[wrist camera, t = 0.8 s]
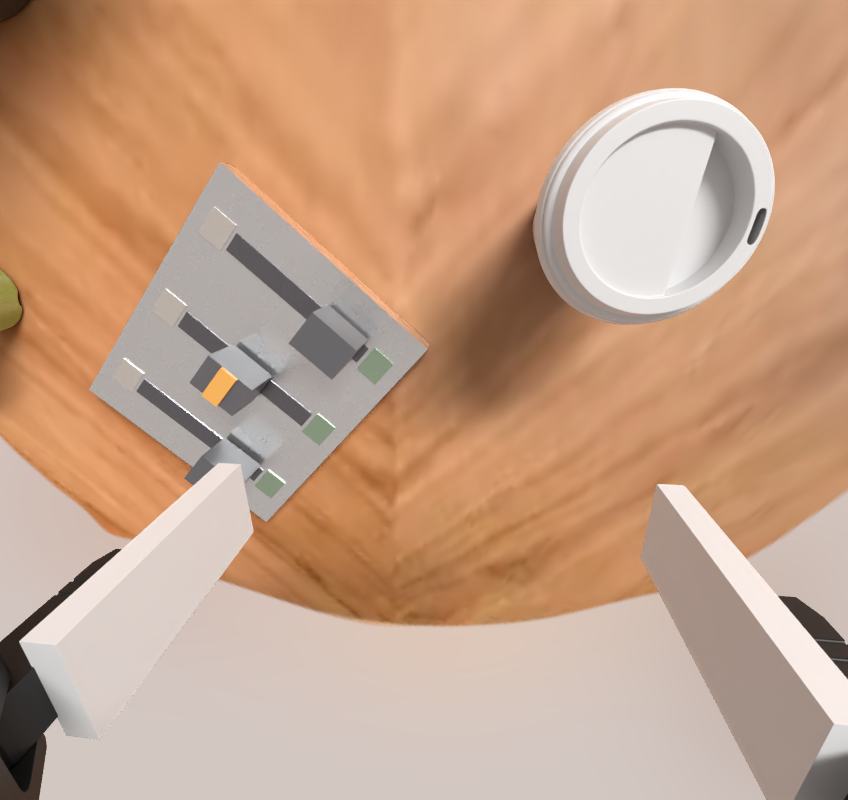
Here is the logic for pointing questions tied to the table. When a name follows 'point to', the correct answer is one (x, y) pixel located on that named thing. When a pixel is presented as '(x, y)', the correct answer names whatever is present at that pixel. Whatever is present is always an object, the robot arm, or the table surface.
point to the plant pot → (8, 303)
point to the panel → (252, 341)
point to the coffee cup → (653, 206)
